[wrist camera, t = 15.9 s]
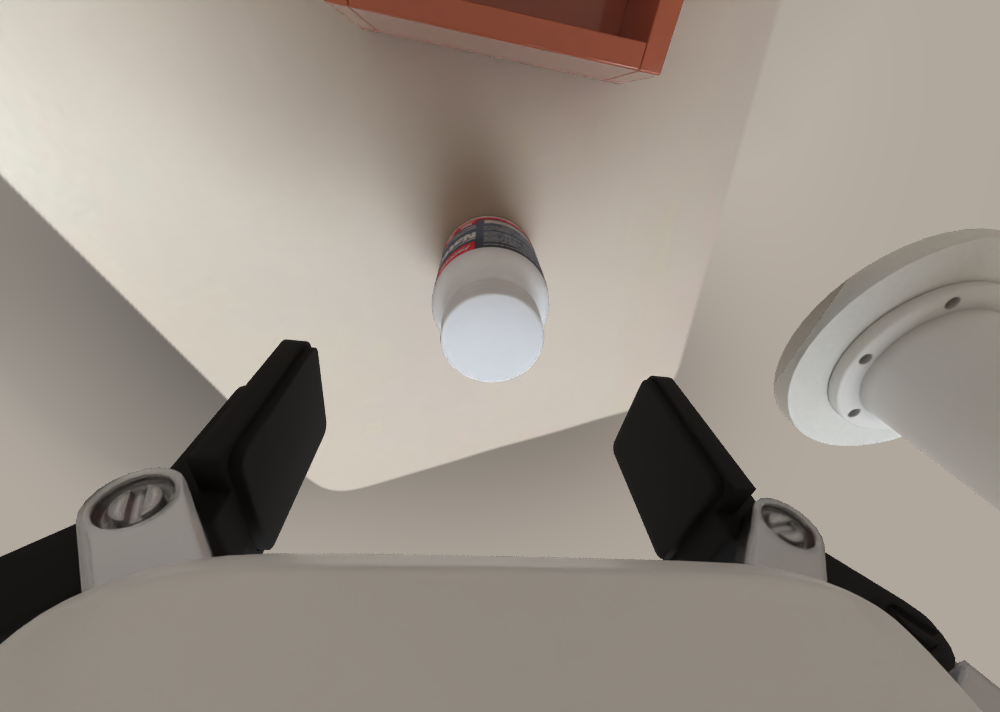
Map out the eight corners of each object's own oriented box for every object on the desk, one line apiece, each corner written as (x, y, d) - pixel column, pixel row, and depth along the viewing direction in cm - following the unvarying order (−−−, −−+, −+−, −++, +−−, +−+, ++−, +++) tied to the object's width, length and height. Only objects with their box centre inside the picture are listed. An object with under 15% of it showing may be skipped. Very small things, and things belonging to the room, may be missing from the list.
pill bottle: (466, 196, 19) (458, 246, 12) (550, 241, 21) (590, 310, 14) (428, 281, 22) (403, 367, 14) (506, 316, 23) (519, 410, 16)
